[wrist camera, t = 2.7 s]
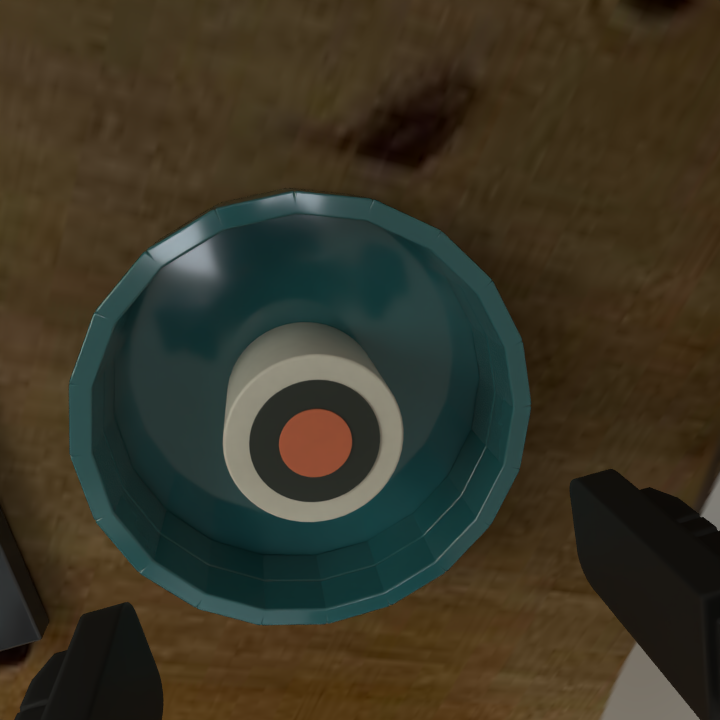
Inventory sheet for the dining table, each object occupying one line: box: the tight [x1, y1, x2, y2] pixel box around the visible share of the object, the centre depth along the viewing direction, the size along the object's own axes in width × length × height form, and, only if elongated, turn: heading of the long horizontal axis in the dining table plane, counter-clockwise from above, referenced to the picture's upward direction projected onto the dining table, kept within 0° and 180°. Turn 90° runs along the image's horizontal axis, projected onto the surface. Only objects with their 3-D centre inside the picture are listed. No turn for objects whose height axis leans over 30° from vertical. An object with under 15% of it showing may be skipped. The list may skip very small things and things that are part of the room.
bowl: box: [69, 188, 531, 625], centre depth 20 cm, size 13×13×4 cm
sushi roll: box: [223, 322, 403, 522], centre depth 20 cm, size 5×5×4 cm
